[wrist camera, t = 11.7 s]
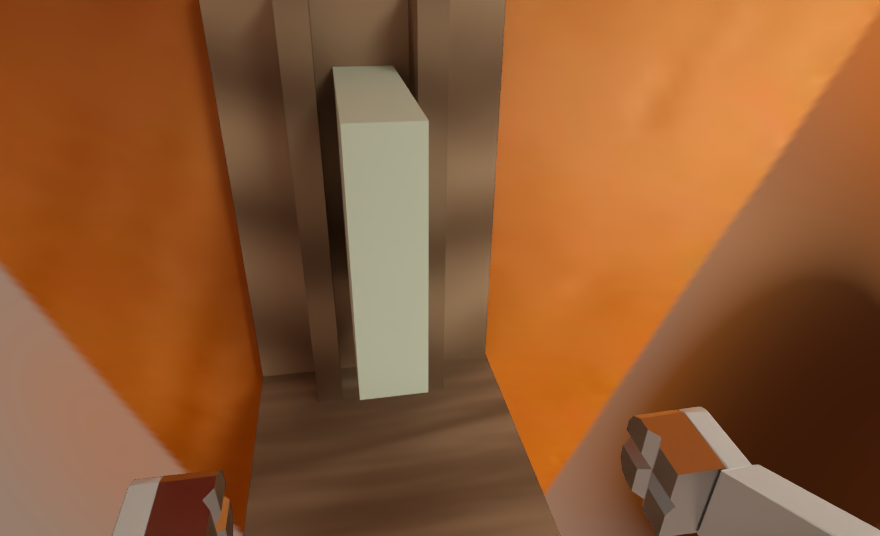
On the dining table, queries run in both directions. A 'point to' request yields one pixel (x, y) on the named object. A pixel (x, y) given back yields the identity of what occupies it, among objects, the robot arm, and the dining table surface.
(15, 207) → the dining table surface
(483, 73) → the track board
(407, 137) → the door panel
